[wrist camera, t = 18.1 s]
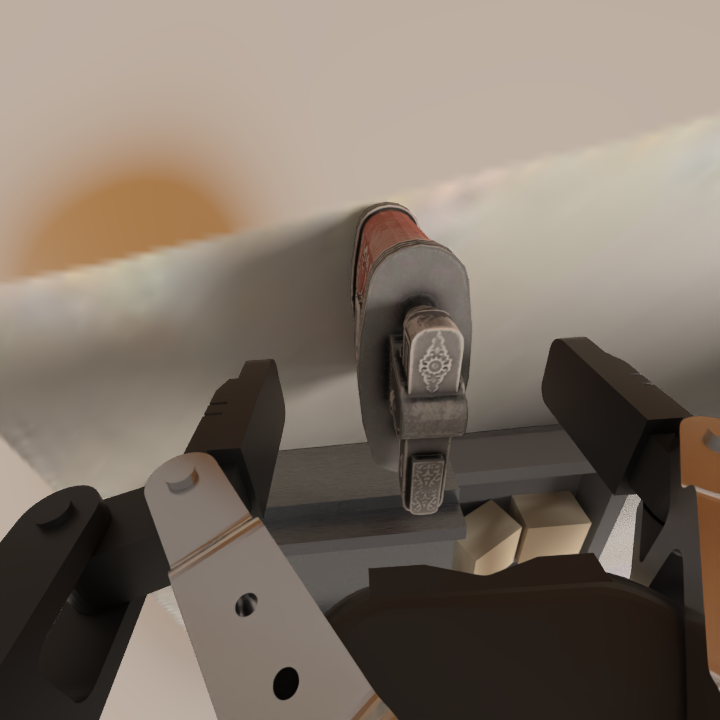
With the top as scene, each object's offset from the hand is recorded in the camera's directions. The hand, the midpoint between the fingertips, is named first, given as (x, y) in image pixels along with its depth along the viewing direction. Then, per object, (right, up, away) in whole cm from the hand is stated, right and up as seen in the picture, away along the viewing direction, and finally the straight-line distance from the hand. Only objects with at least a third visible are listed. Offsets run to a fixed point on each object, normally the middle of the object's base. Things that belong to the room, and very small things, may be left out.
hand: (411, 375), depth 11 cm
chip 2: (+11, -12, +13) cm, 21 cm away
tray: (+9, -10, +15) cm, 21 cm away
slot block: (-2, -11, +15) cm, 19 cm away
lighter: (0, +4, +7) cm, 8 cm away
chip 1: (+6, -11, +14) cm, 19 cm away
